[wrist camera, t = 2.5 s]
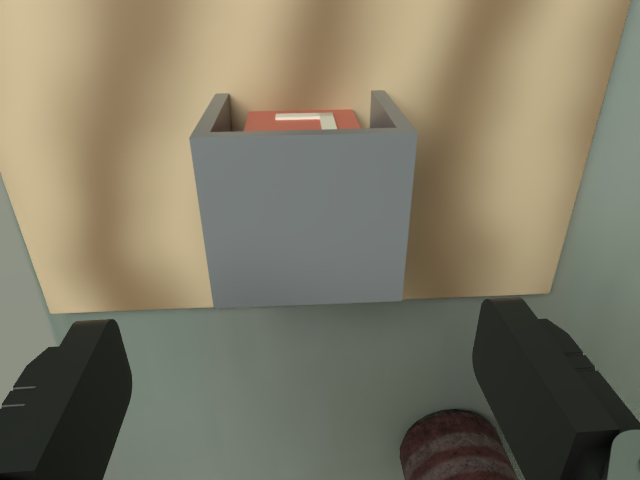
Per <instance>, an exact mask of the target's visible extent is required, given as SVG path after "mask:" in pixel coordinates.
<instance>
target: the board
mask: <svg viewBox="0 0 640 480" xmlns="http://www.w3.org/2000/svg"><path fill="white" fill-rule="evenodd" d="M630 3H631V0H0V172H1V175H2V178H3V181H4V184H5V187H6V189H7V192H8V195H9V198H10V201H11V203H12V206H13V209H14V212H15V215H16V218H17V220H18V223H19V226H20V229H21V232H22V234H23V237H24V240H25V243H26V246H27V249H28V251H29V254H30V257H31V260H32V263H33V266H34V268H35V271H36V274H37V277H38V280H39V282H40V285H41V288H42V291H43V294H44V297H45V299H46V302H47V305H48V308H49V311H50V313H51V314H55V313H80V312H104V311H129V310H154V309H179V308H204V307H213V300H212V293H211V286H210V279H209V272H208V265H207V259H206V252H205V245H204V238H203V231H202V224H201V217H200V210H199V203H198V196H197V189H196V182H195V175H194V168H193V161H192V154H191V148H190V141H189V137H190V136H191V134H192V132H193V130H194V129H195V127H196V125H197V124H198V122H199V120H200V119H201V117H202V115H203V114H204V112H205V110H206V109H207V107H208V105H209V104H210V102H211V100H212V98H213V97H214V95H215V94H216V93H229V100H230V110H231V120H232V131H233V132H238V131H244V127H245V124H246V120H247V117H248V113H249V112H250V111H297V110H343V109H353V112H354V114H355V116H356V118H357V120H358V123H359V125H360V127H361V129H366V128H370V105H371V90H384V91H385V92H386V93H387V94H388V96H389V97H390V98H391V99H392V101H393V102H394V103H395V104H396V106H397V107H398V108H399V109H400V111H401V112H402V113H403V114H404V116H405V117H406V118H407V119H408V121H409V122H410V123H411V124H412V126H413V127H414V128H415V129H416V131H417V132H418V136H417V147H416V158H415V168H414V179H413V189H412V200H411V210H410V221H409V232H408V242H407V253H406V263H405V274H404V284H403V295H402V300H403V299H428V298H452V297H477V296H502V295H527V294H550V290H551V286H552V283H553V279H554V276H555V272H556V269H557V265H558V261H559V258H560V254H561V251H562V247H563V243H564V240H565V236H566V233H567V229H568V225H569V222H570V218H571V215H572V211H573V207H574V204H575V200H576V197H577V193H578V190H579V186H580V182H581V179H582V175H583V172H584V168H585V164H586V161H587V157H588V154H589V150H590V146H591V143H592V139H593V136H594V132H595V128H596V125H597V121H598V118H599V114H600V110H601V107H602V103H603V100H604V96H605V93H606V89H607V85H608V82H609V78H610V75H611V71H612V67H613V64H614V60H615V57H616V53H617V49H618V46H619V42H620V39H621V35H622V31H623V28H624V24H625V21H626V17H627V14H628V10H629V6H630Z"/></svg>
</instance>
